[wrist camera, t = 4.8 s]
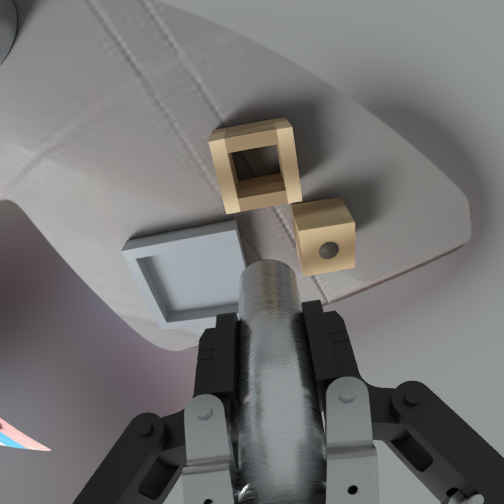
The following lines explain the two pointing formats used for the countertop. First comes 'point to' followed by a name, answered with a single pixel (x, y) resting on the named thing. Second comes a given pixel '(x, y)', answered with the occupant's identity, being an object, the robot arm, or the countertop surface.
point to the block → (324, 236)
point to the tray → (188, 273)
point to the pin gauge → (276, 392)
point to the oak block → (259, 188)
